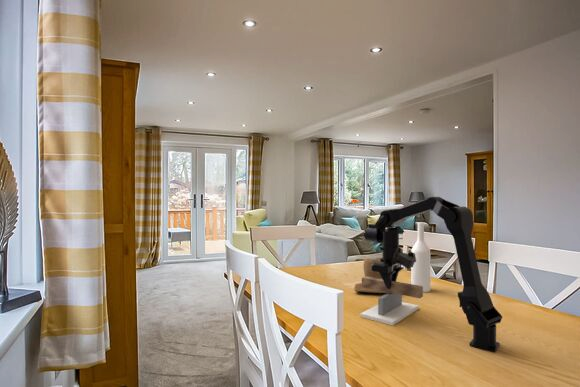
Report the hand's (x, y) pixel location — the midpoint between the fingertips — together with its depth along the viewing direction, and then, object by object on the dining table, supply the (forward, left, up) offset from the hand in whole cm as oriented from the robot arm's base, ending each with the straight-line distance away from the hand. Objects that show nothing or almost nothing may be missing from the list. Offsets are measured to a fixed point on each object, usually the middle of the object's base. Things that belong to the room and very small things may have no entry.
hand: (390, 287), depth 126 cm
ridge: (0, 0, -9) cm, 9 cm away
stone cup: (+20, +18, -9) cm, 28 cm away
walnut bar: (0, 0, -1) cm, 1 cm away
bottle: (+37, +3, -9) cm, 38 cm away
